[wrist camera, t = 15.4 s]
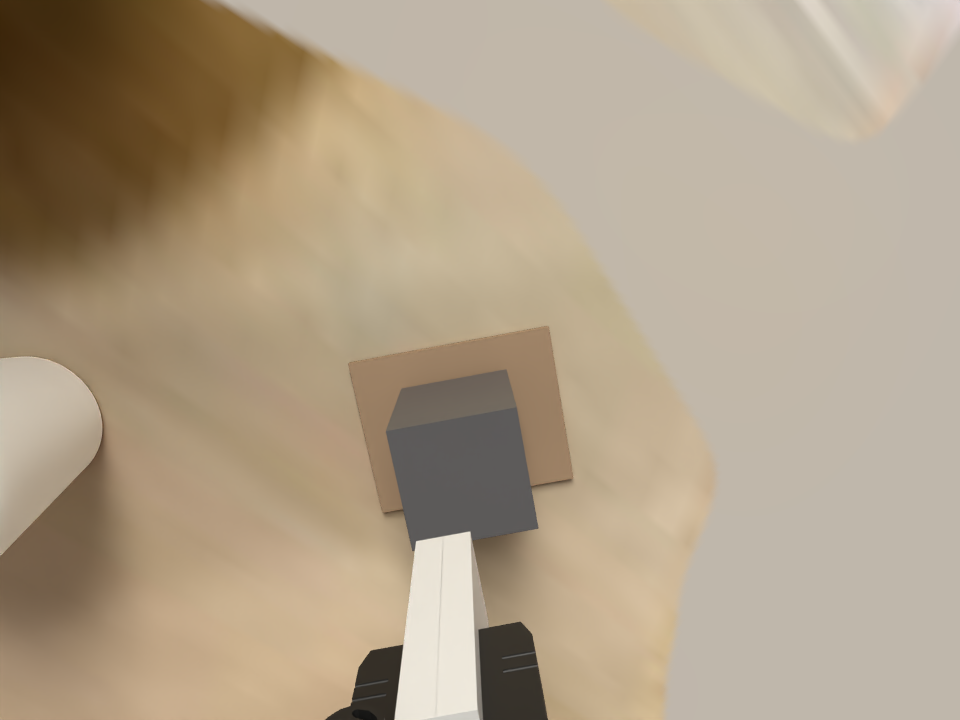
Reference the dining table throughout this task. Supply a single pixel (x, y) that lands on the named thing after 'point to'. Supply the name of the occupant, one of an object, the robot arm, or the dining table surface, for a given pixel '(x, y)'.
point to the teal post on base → (512, 351)
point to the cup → (41, 438)
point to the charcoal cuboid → (461, 459)
